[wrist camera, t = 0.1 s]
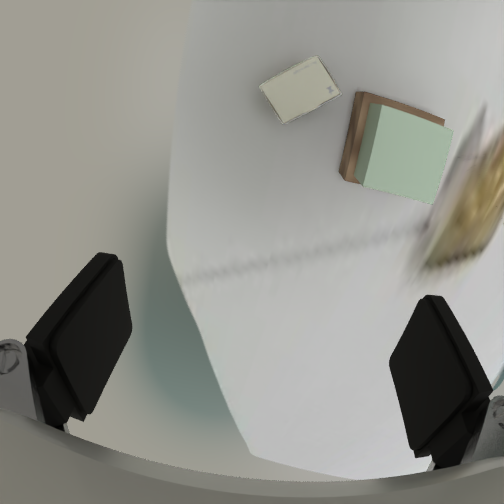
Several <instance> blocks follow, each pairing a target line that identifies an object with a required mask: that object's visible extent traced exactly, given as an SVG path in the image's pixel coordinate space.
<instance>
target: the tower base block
mask: <svg viewBox="0 0 504 504" xmlns="http://www.w3.org/2000/svg"><path fill="white" fill-rule="evenodd" d="M370 103H374V104H380V105H384V106H388V107H391V108H394V109H397V110H400V111H403V112H406V113H409V114H412V115H415V116H417V117H420V118H423V119H426V120H428V121H431V122H433V123H436V124H439V125H441V126H444V122H445V119H442V118H440V117H437V116H435V115H432V114H430V113H427V112H424V111H422V110H419V109H416V108H414V107H411V106H408V105H405V104H402V103H399V102H396V101H393V100H390V99H387V98H384V97H380V96H377V95H374V94H370V93H367V92H356V94H355V100H354V105H353V110H352V115H351V119H350V124H349V129H348V134H347V138H346V143H345V147H344V152H343V156H342V161H341V165H340V169H339V173H340V174H341V176H342V177H343V179H344V180H345V181H349V182H353V183H357V184H360V182H359V181H358V180H357V179H356V178H355V176H354V172H355V168H356V164H357V160H358V156H359V151H360V147H361V143H362V138H363V134H364V129H365V125H366V120H367V115H368V110H369V106H370Z"/></svg>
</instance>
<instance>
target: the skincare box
mask: <svg viewBox="0 0 504 504" xmlns="http://www.w3.org/2000/svg"><path fill="white" fill-rule="evenodd" d="M259 88H260V89H261V91H262V93H263V94H264V96H265V98H266V99H267V101H268V103H269V104H270V106H271V108H272V109H273V111H274V112H275V114H276V116H277V117H278V119H279V120H280V122H281V123H282V124H283V125H285V124H287V123H289V122H291V121H293V120H295V119H297V118H299V117H301V116H303V115H305V114H307V113H309V112H311V111H313V110H315V109H316V108H318V107H320V106H322V105H324V104H326V103H328V102H330V101H332V100H333V99H335V98H337V97H339V96H341V95H342V93H341V91H340V89H339V87H338V86H337V84H336V82H335V80H334V79H333V77H332V75H331V74H330V72H329V70H328V69H327V67H326V66H325V64H324V63H323V61H322V60H321V58H320V57H319V56H318V55H316V56H313V57H311V58H309V59H306V60H304V61H302V62H300V63H298V64H296V65H294V66H292V67H290V68H288V69H286V70H285V71H283V72H281V73H279V74H277V75H276V76H274V77H272V78H271V79H269V80H267V81H266V82H264V83H262V84H261V85H259Z"/></svg>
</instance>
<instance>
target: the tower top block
mask: <svg viewBox="0 0 504 504" xmlns="http://www.w3.org/2000/svg"><path fill="white" fill-rule="evenodd" d="M453 132H454V131H453V130H451V129H448V128H446V127H444V126H441V125H439V124H436V123H433V122H431V121H428V120H426V119H423V118H420V117H417V116H415V115H412V114H409V113H406V112H403V111H400V110H397V109H394V108H391V107H388V106H384V105H380V104H374V103H370V106H369V110H368V115H367V120H366V125H365V129H364V134H363V138H362V143H361V147H360V151H359V156H358V160H357V164H356V168H355V172H354V176H355V178H356V179H357V180H358V181H359V182H360V184H361V185H362V186H363V187H367V188H371V189H375V190H379V191H383V192H387V193H391V194H395V195H399V196H403V197H406V198H410V199H414V200H417V201H421V202H425V203H428V204H432V205H433V202H434V199H435V196H436V193H437V190H438V186H439V183H440V180H441V177H442V173H443V170H444V166H445V163H446V159H447V155H448V152H449V148H450V144H451V140H452V136H453Z"/></svg>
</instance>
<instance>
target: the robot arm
mask: <svg viewBox="0 0 504 504" xmlns="http://www.w3.org/2000/svg"><path fill="white" fill-rule="evenodd" d="M131 332H132V321H131V316H130V311H129V304H128V298H127V292H126V285H125V278H124V271H123V264H122V262H121V260H118V257H117V256H116V255H114V254H108V253H102V252H99V253H97V255H95V256H94V258H92V260H91V261H90V262H89V263H88V264H87V265H86V266H85V267H84V268H83V269H82V270H81V271H80V273H79V274H78V275H77V276H76V277H75V278H74V279H73V280H72V282H71V283H70V284H69V285H68V286H67V287H66V288H65V290H64V291H63V292H62V293H61V294H60V295H59V297H58V298H57V299H56V300H55V301H54V303H53V304H52V305H51V306H50V307H49V309H48V310H47V311H46V312H45V313H44V315H43V316H42V317H41V318H40V320H39V321H38V322H37V323H36V325H35V326H34V327H33V328H32V330H31V331H30V332H29V334H28V335H27V336H26V339H27V341H26V343H25V344H24V345H23V344H22V343H21V342H19V341H17V340H14V339H6V340H2V341H0V504H504V396H496V397H494V398H493V399H492V400H491V401H490V399H489V397H488V396H489V395H490V394H491V393H492V392H493V389H492V387H491V384H490V382H489V380H488V378H487V376H486V374H485V372H484V370H483V368H482V366H481V364H480V362H479V360H478V358H477V356H476V354H475V352H474V350H473V348H472V346H471V344H470V343H469V341H468V339H467V337H466V335H465V333H464V332H463V330H462V328H461V326H460V325H459V323H458V321H457V319H456V318H455V316H454V314H453V312H452V311H451V309H450V307H449V306H448V304H447V302H446V301H445V299H444V298H443V297H442V296H435V295H426V296H424V298H423V299H420V300H419V302H418V303H417V306H416V308H415V310H414V312H413V314H412V316H411V318H410V320H409V322H408V324H407V326H406V328H405V330H404V332H403V334H402V336H401V338H400V340H399V342H398V344H397V346H396V348H395V349H394V351H393V353H392V355H391V357H390V360H389V367H390V371H391V374H392V378H393V381H394V385H395V389H396V393H397V396H398V400H399V404H400V408H401V412H402V416H403V420H404V425H405V429H406V433H407V438H408V442H409V446H410V448H411V449H412V450H414V455H415V458H419V457H425V456H429V455H430V454H431V456H432V461H431V463H430V465H429V467H428V469H427V471H426V472H422V473H416V474H410V475H403V476H396V477H388V478H379V479H368V480H354V481H334V482H333V481H332V482H297V481H275V480H261V479H249V478H241V477H233V476H225V475H218V474H212V473H206V472H200V471H194V470H190V469H184V468H179V467H175V466H170V465H166V464H162V463H158V462H154V461H150V460H146V459H142V458H139V457H135V456H132V455H129V454H125V453H122V452H119V451H116V450H113V449H110V448H107V447H103V446H101V445H98V444H95V443H92V442H89V441H86V440H84V439H81V438H78V437H76V436H73V435H71V434H70V433H69V430H68V426H67V421H68V419H69V417H73V418H75V419H78V420H80V421H83V422H84V420H85V418H86V415H87V414H91V413H92V412H93V410H94V408H95V406H96V404H97V402H98V400H99V398H100V396H101V394H102V391H103V389H104V387H105V385H106V383H107V381H108V379H109V377H110V375H111V373H112V371H113V369H114V367H115V365H116V363H117V361H118V359H119V357H120V355H121V353H122V351H123V349H124V347H125V345H126V343H127V341H128V339H129V338H130V335H131Z"/></svg>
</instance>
